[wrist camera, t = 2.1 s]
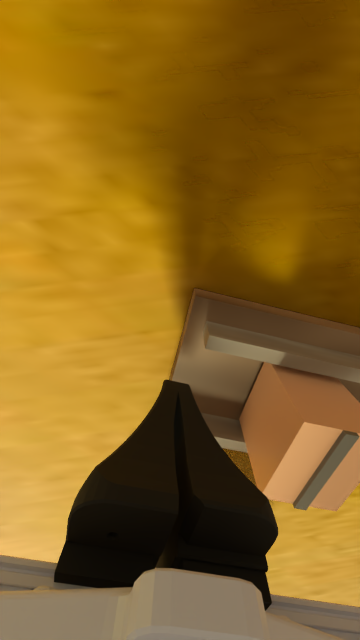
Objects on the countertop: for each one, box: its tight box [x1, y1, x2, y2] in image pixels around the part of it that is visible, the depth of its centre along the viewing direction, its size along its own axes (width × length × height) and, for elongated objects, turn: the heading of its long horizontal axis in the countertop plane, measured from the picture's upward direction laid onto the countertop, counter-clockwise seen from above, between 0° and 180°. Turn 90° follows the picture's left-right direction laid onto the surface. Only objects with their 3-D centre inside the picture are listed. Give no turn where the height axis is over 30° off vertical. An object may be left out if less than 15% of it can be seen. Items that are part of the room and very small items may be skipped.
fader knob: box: [239, 362, 360, 511], centre depth 13 cm, size 5×4×5 cm
